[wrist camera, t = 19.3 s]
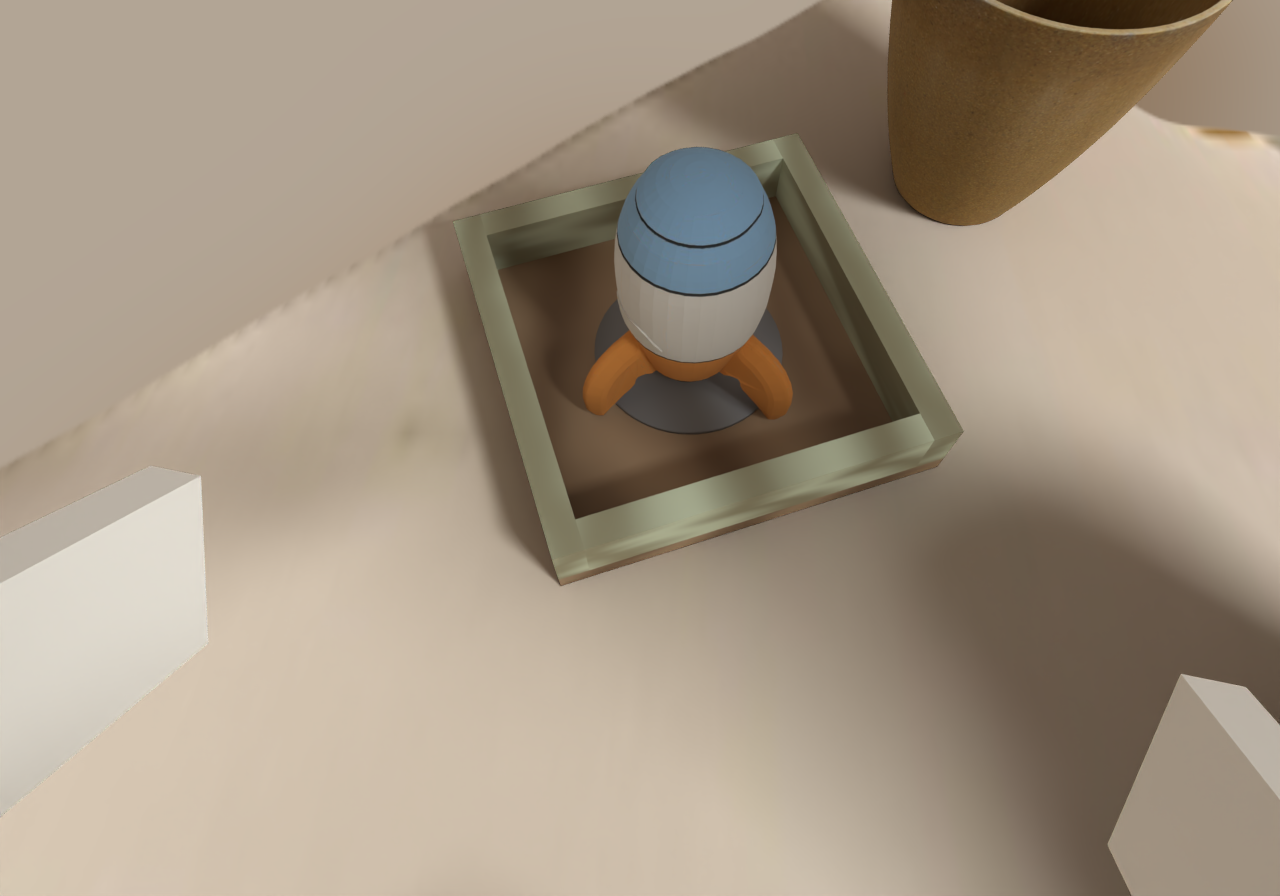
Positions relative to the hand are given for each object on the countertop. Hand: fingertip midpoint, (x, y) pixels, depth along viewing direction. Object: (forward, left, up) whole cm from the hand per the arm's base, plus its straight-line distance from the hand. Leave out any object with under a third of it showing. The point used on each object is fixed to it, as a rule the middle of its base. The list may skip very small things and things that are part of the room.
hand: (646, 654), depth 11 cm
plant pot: (-29, -27, -28) cm, 48 cm away
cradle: (-9, -20, -28) cm, 35 cm away
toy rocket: (-9, -20, -26) cm, 34 cm away
